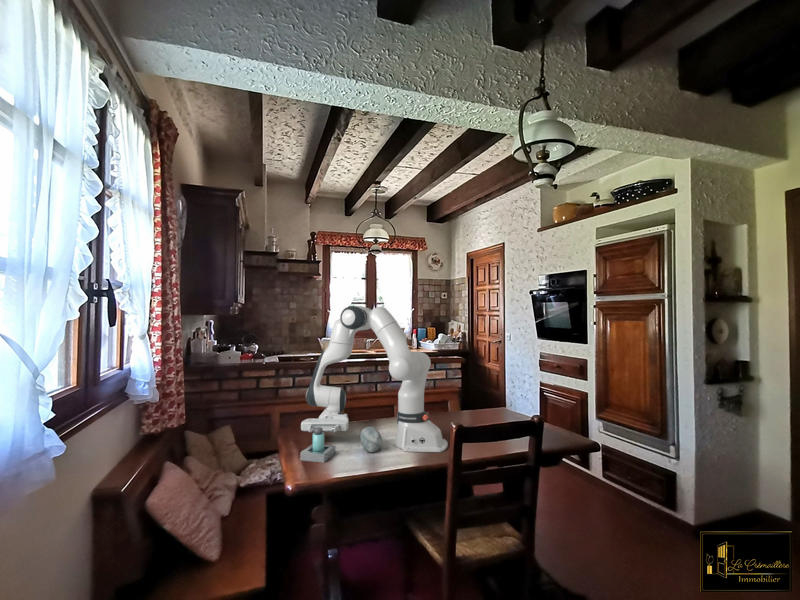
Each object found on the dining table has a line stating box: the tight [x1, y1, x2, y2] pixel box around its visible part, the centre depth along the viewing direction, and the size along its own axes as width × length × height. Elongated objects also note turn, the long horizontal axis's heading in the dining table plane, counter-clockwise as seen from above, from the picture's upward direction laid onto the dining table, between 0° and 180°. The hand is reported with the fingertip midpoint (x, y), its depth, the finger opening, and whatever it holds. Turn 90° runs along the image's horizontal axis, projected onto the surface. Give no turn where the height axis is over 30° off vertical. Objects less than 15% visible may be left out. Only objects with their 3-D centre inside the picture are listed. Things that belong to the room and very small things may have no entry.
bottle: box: [312, 427, 325, 453], centre depth 154 cm, size 4×4×11 cm
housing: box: [299, 443, 336, 463], centre depth 153 cm, size 10×10×3 cm
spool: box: [359, 426, 383, 453], centre depth 163 cm, size 14×10×10 cm
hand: (321, 430), depth 161 cm, fingers open, 8 cm apart
